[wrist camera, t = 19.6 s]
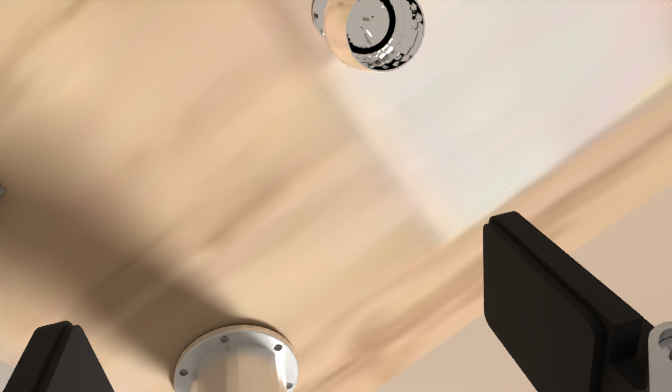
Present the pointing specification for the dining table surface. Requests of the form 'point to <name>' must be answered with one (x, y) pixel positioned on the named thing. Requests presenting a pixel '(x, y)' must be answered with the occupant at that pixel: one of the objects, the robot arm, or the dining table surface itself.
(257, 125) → the dining table surface
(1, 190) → the divided grey tray
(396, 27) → the wineglass
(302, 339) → the dining table surface
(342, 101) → the dining table surface
